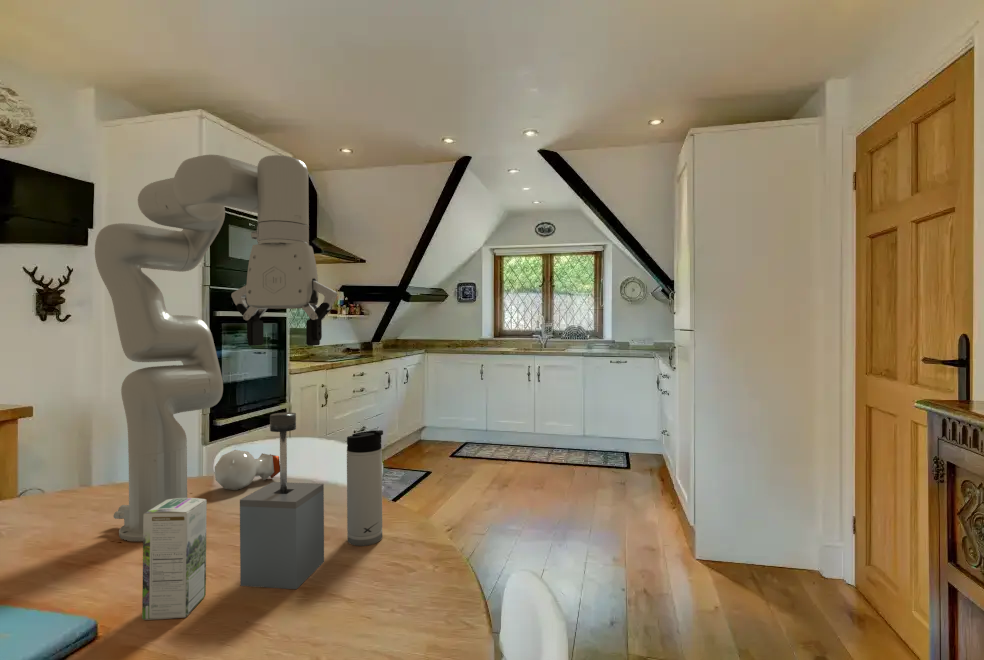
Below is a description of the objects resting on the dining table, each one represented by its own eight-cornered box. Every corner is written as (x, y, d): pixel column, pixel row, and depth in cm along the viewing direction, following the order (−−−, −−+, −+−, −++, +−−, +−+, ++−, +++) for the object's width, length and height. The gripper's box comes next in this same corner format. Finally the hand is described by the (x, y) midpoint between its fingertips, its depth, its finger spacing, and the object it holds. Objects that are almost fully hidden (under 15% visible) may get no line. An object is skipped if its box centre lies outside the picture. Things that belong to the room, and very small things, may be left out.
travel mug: (375, 548, 90) (374, 434, 90) (341, 545, 91) (340, 433, 91) (389, 533, 96) (388, 427, 96) (357, 531, 97) (356, 426, 97)
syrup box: (165, 598, 73) (164, 498, 73) (207, 596, 74) (207, 496, 74) (141, 621, 68) (140, 512, 68) (187, 618, 68) (186, 510, 68)
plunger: (256, 514, 78) (256, 417, 78) (277, 502, 84) (276, 411, 84) (291, 516, 78) (290, 417, 78) (309, 503, 83) (308, 411, 83)
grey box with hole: (240, 585, 77) (239, 499, 77) (273, 559, 86) (272, 481, 86) (296, 589, 76) (295, 501, 76) (324, 561, 85) (323, 483, 85)
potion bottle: (210, 500, 120) (267, 490, 133) (232, 480, 117) (289, 472, 129) (201, 464, 124) (258, 458, 137) (223, 444, 120) (278, 440, 133)
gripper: (217, 234, 78) (218, 346, 78) (325, 231, 76) (325, 346, 76) (247, 242, 86) (247, 344, 86) (345, 240, 84) (346, 344, 84)
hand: (284, 345), depth 81 cm, fingers open, 9 cm apart
